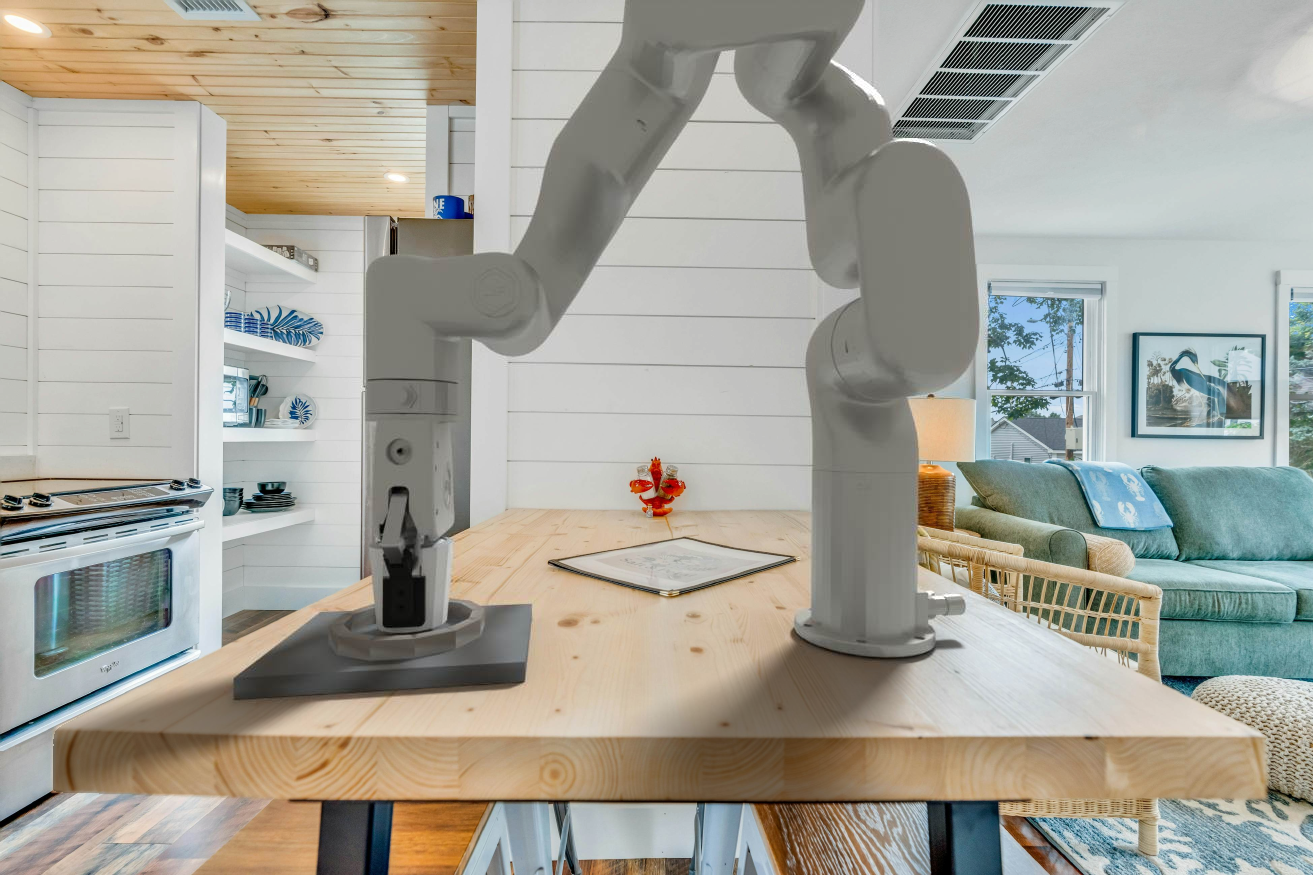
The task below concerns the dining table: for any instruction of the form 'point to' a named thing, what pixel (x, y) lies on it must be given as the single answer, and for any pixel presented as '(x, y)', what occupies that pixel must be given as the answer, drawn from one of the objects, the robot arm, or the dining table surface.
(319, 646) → the ring board
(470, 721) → the dining table surface
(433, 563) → the white cup
